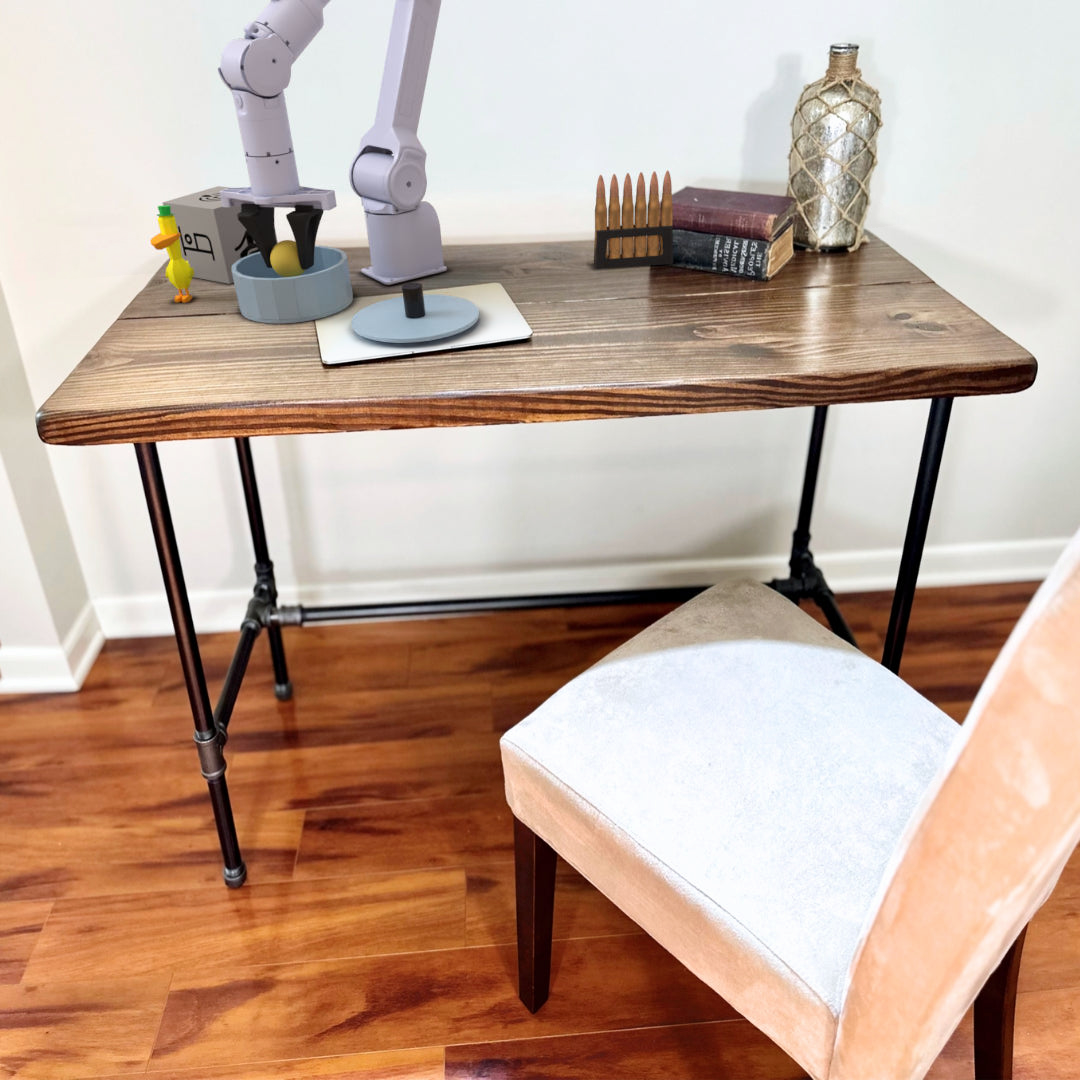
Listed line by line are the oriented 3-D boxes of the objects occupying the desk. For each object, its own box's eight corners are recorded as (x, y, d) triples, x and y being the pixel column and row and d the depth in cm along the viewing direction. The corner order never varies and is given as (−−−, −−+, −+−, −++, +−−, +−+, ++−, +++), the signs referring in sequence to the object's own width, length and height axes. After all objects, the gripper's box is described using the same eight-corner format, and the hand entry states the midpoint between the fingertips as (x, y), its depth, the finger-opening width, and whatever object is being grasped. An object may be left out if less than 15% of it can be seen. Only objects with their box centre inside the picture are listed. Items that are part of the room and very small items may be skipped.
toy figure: (183, 309, 125) (159, 214, 118) (157, 309, 125) (132, 214, 119) (207, 292, 130) (185, 200, 124) (182, 292, 131) (160, 200, 124)
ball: (301, 269, 125) (295, 233, 123) (316, 277, 122) (310, 240, 120) (268, 277, 123) (261, 240, 121) (282, 285, 120) (275, 248, 117)
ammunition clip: (670, 259, 133) (673, 168, 127) (673, 263, 132) (676, 171, 125) (593, 264, 133) (592, 173, 126) (595, 268, 131) (594, 176, 125)
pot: (324, 279, 133) (317, 238, 130) (372, 305, 123) (366, 262, 120) (224, 302, 126) (214, 260, 123) (266, 332, 116) (257, 287, 113)
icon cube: (180, 274, 138) (162, 202, 132) (233, 255, 145) (218, 186, 139) (229, 283, 133) (213, 209, 127) (281, 263, 140) (268, 192, 135)
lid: (438, 294, 125) (435, 258, 123) (504, 325, 115) (501, 286, 112) (331, 322, 118) (325, 284, 116) (390, 358, 107) (384, 317, 105)
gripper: (197, 158, 113) (222, 273, 120) (309, 160, 110) (328, 278, 117) (228, 146, 119) (251, 256, 126) (336, 147, 115) (353, 261, 123)
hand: (290, 266), depth 122 cm, fingers closed on ball, 4 cm apart
